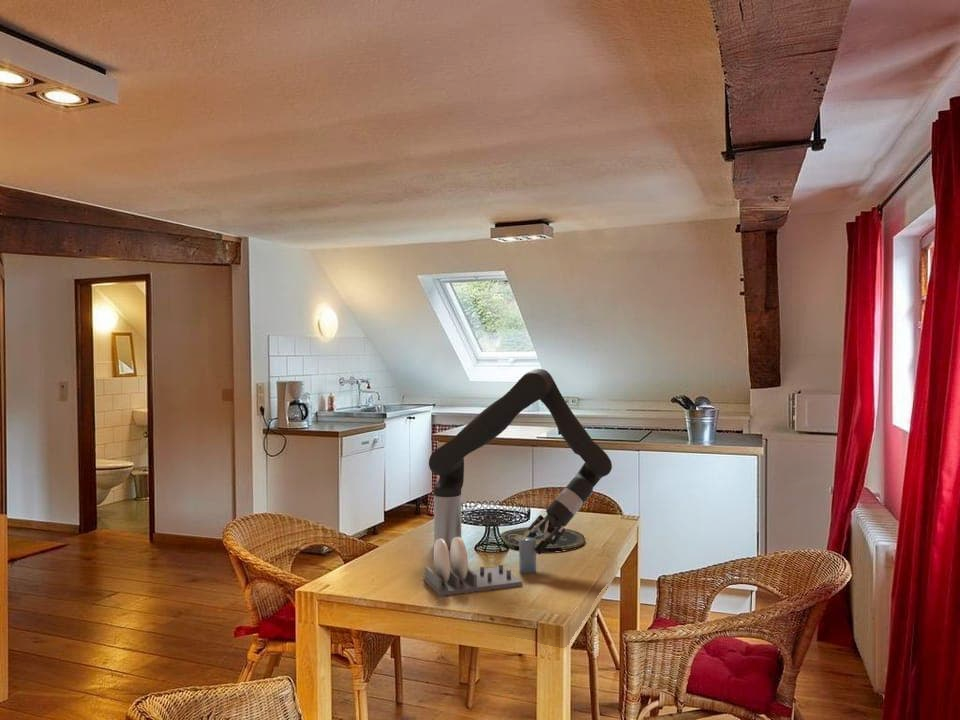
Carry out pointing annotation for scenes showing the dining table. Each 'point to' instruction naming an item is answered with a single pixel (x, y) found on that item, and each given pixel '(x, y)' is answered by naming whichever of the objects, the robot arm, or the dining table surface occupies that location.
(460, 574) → the dish rack
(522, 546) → the grey dome-topped cylinder
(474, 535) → the dining table surface
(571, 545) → the decorative plate
